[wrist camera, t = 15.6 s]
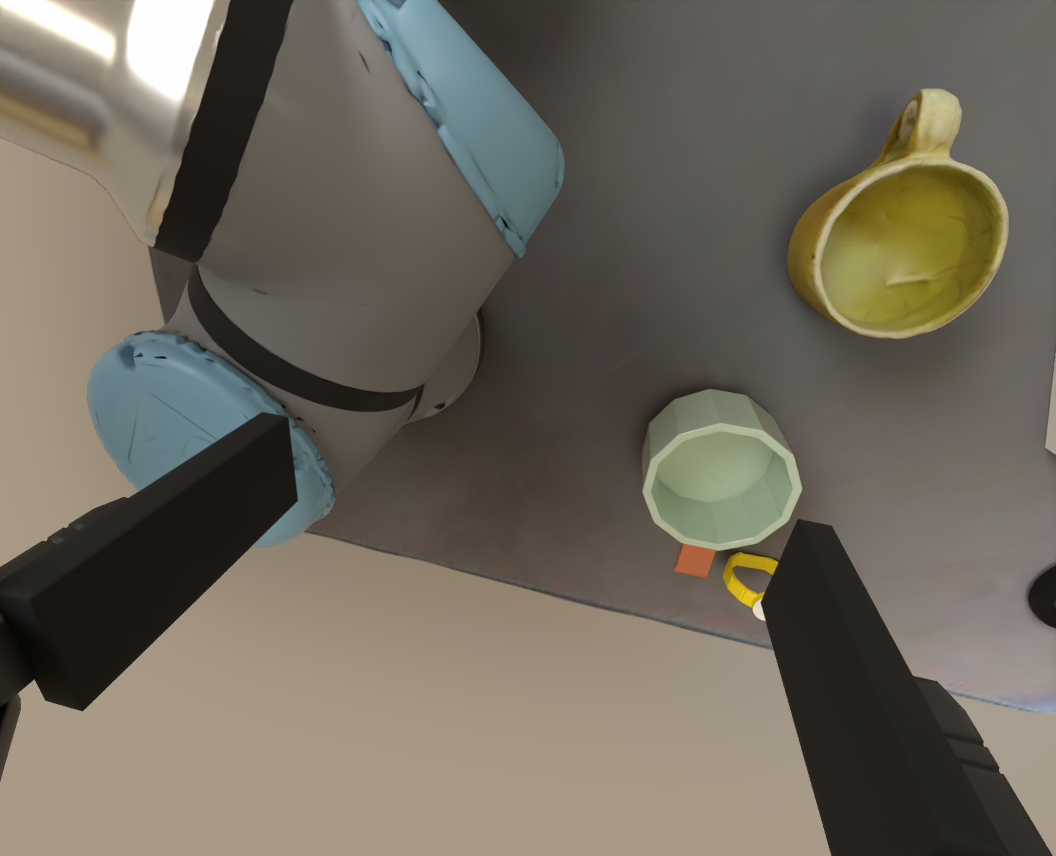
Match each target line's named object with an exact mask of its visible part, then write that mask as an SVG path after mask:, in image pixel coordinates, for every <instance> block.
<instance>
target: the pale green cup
mask: <svg viewBox="0 0 1056 856" xmlns="http://www.w3.org/2000/svg"><path fill="white" fill-rule="evenodd" d="M801 491H802V485H801V481H800V477H799V473H798V469H797V465H796V462H795V458H794V455H793V453H792V451H791V449H790V447H789V446H788V444H787V442H786V440H785V438H784V436H783V434H782V433H781V431H780V429H779V427H778V425H777V423H776V422H775V420H774V418H773V417H772V416H771V415H770V414H769V413H768V412H766V411H765V410H764V409H763V408H762V407H760V406H759V405H758V404H757V403H756V402H754V401H753V400H752V399H751V398H750V397H748V396H747V395H743V394H737V393H731V392H725V391H720V390H714V389H707V390H704V391H701V392H697V393H694V394H691V395H687V396H684V397H681V398H677V399H674V400H673V401H672V402H671V403H670V404H669V405H668V406H666V407H665V408H664V409H663V410H662V411H661V412H660V413H659V414H658V415H657V416H656V417H655V418H654V419H653V420H652V421H651V422H650V423H649V426H648V430H647V434H646V438H645V442H644V446H643V450H642V493H643V495H644V498H645V500H646V503H647V506H648V508H649V511H650V513H651V516H652V518H653V521H654V523H656V524H657V525H658V526H660V527H661V528H662V529H664V530H665V531H666V532H668V533H669V534H670V535H672V536H673V537H674V538H675V539H677V540H678V541H679V542H681V546H680V550H679V553H678V556H677V559H676V562H675V565H674V567H675V571H676V572H681V573H685V574H690V575H695V576H699V577H704V578H706V577H707V574H708V571H709V569H710V566H711V563H712V560H713V558H714V555H715V552H716V550H717V551H721V550H726V549H731V548H736V547H742V546H747V545H752V544H757V543H759V542H760V541H762V540H763V539H764V538H766V537H767V536H769V535H770V534H771V533H773V532H774V531H776V530H777V529H778V528H780V527H781V526H783V525H784V524H785V523H787V522H788V521H789V519H790V516H791V514H792V512H793V510H794V507H795V505H796V503H797V501H798V498H799V496H800V494H801Z"/></svg>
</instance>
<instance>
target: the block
mask: <svg viewBox="0 0 1056 856" xmlns="http://www.w3.org/2000/svg"><path fill="white" fill-rule="evenodd" d="M1045 448H1047V449H1048V450H1049V451H1051V452H1052V453H1054V454H1055V455H1056V354H1055V363H1054V372H1053V381H1052V390H1051V399H1050V408H1049V417H1048V426H1047V435H1046V444H1045Z"/></svg>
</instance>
